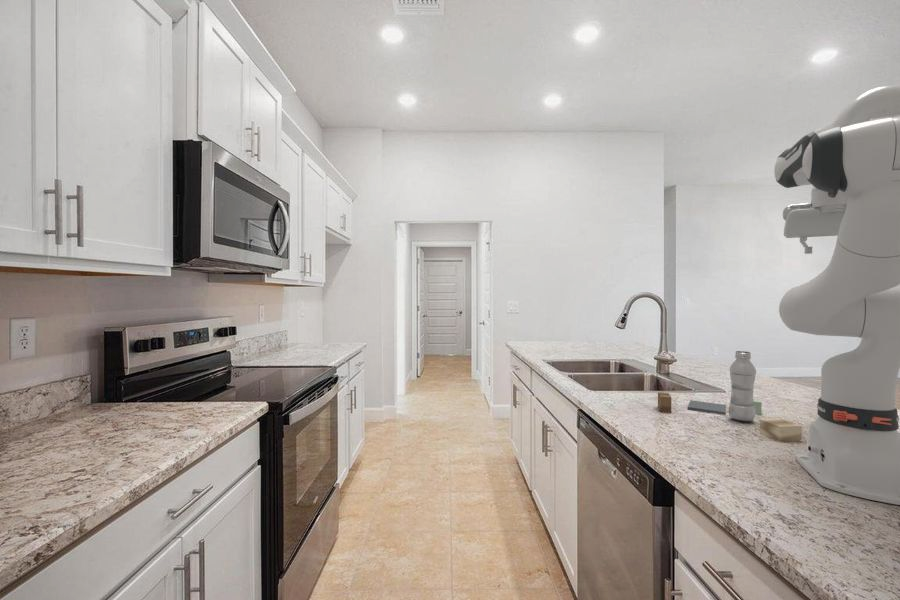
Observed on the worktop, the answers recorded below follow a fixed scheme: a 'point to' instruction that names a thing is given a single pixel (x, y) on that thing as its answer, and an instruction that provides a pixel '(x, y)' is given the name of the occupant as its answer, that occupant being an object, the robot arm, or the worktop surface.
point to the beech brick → (780, 429)
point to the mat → (707, 407)
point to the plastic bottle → (742, 387)
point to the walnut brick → (664, 402)
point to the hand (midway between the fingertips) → (831, 252)
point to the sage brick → (757, 406)
